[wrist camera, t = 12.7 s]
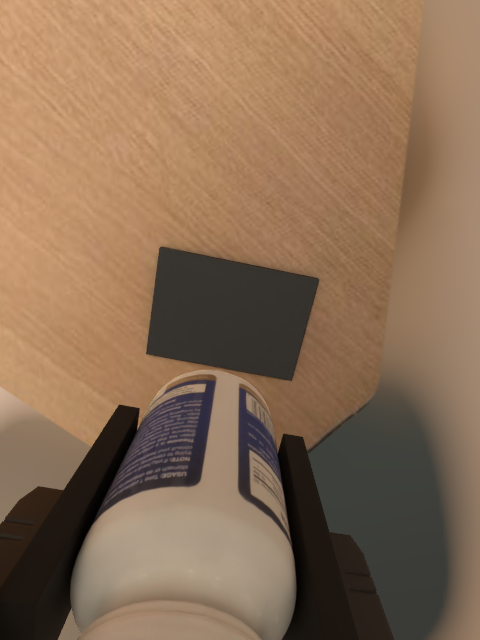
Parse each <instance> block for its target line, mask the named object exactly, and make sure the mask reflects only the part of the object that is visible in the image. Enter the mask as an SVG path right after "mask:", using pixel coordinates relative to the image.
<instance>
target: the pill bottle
mask: <svg viewBox="0 0 480 640" xmlns="http://www.w3.org/2000/svg"><path fill="white" fill-rule="evenodd" d="M296 592H297V585H296V572H295V559H294V554H293V550H292V542H291V537H290V530H289V524H288V517H287V510H286V504H285V497H284V491H283V485H282V479H281V472H280V466H279V459H278V453H277V447H276V440H275V433H274V427H273V422H272V418H271V414H270V411H269V408H268V406H267V404H266V402H265V400H264V399H263V397H262V396H261V394H260V393H259V392H258V391H257V390H256V389H255V388H254V387H253V386H252V385H251V384H250V383H248V382H247V381H246V380H244V379H242V378H240V377H238V376H235V375H233V374H230V373H226V372H223V371H217V370H196V371H192V372H189V373H185V374H182V375H179V376H178V377H176V378H174V379H172V380H171V381H169V382H168V383H167V384H166V385H164V386H163V387H162V388H161V389H160V391H159V392H158V393H157V394H156V395H155V397H154V399H153V400H152V402H151V404H150V405H149V407H148V409H147V411H146V413H145V415H144V417H143V419H142V421H141V423H140V426H139V428H138V430H137V432H136V434H135V436H134V438H133V440H132V442H131V444H130V446H129V448H128V450H127V452H126V454H125V457H124V459H123V461H122V463H121V465H120V467H119V469H118V471H117V473H116V475H115V477H114V479H113V481H112V483H111V485H110V487H109V489H108V491H107V494H106V496H105V498H104V500H103V501H102V504H101V506H100V508H99V510H98V512H97V514H96V516H95V519H94V521H93V523H92V525H91V527H90V529H89V531H88V533H87V535H86V537H85V539H84V541H83V544H82V546H81V549H80V551H79V553H78V555H77V558H76V561H75V565H74V568H73V572H72V577H71V585H70V601H71V607H72V611H73V615H74V618H75V621H76V624H77V626H78V628H79V630H80V632H81V635H80V637H79V638H78V639H77V640H282V638H283V636H284V635H285V633H286V631H287V629H288V627H289V625H290V622H291V619H292V616H293V613H294V609H295V603H296Z"/></svg>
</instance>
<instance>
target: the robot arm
mask: <svg viewBox="0 0 480 640" xmlns="http://www.w3.org/2000/svg"><path fill="white" fill-rule="evenodd" d="M139 410H140V408H135V407H130V406H124V405H119V406H118V407H117V409H116V410H115V412H114V413H113V415H112V416H111V418H110V420H109V421H108V423H107V424H106V426H105V427H104V429H103V430H102V432H101V433H100V435H99V437H98V438H97V440H96V441H95V443H94V444H93V446H92V447H91V449H90V450H89V452H88V453H87V455H86V457H85V458H84V460H83V461H82V463H81V464H80V466H79V467H78V469H77V471H76V472H75V474H74V475H73V477H72V478H71V480H70V481H69V483H68V484H67V486H66V488H65V489H64V490H57V489H51V488H45V487H39V486H38V487H37V488H35V489H34V490H33V491H31V492H30V493H28V494H27V495H26V496H24V497H23V498H21V499H20V500H19V501H18V502H17V504H16V505H15V506H14V507H13V509H12V510H11V511H10V513H9V514H8V515H7V516H6V518H5V520H4V522H2V523H1V524H0V640H58V637H59V635H60V633H61V630H62V628H63V626H64V624H65V621H66V619H67V616H68V614H69V612H70V610H71V601H70V585H71V577H72V572H73V568H74V565H75V561H76V558H77V555H78V553H79V551H80V549H81V546H82V544H83V541H84V539H85V537H86V535H87V533H88V531H89V529H90V527H91V525H92V523H93V521H94V519H95V516H96V514H97V512H98V510H99V508H100V506H101V504H102V501H103V500H104V498H105V496H106V494H107V491H108V489H109V487H110V485H111V483H112V481H113V479H114V477H115V475H116V473H117V471H118V469H119V467H120V465H121V463H122V461H123V459H124V457H125V454H126V452H127V450H128V448H129V446H130V444H131V442H132V440H133V438H134V436H135V434H136V432H137V426H138V418H139ZM278 459H279V466H280V472H281V479H282V485H283V491H284V497H285V504H286V510H287V517H288V524H289V530H290V537H291V542H292V550H293V554H294V559H295V572H296V585H297V592H296V603H295V609H294V613H293V616H292V619H291V622H290V625H289V627H288V629H287V631H286V633H285V635H284V636H283V638H282V640H394V638H393V635H392V633H391V630H390V627H389V624H388V621H387V619H386V616H385V613H384V610H383V607H382V604H381V602H380V599H379V596H378V595H377V594H376V588H375V585H374V582H373V580H372V577H370V571H369V568H368V566H367V563H366V560H365V557H364V554H363V553H362V551H361V550H360V548H359V547H358V546H357V544H356V543H355V542H354V540H353V539H352V537H351V536H349V535H343V534H337V533H331V532H329V530H328V526H327V523H326V519H325V515H324V512H323V508H322V504H321V501H320V497H319V494H318V490H317V486H316V483H315V479H314V475H313V472H312V468H311V465H310V461H309V458H308V454H307V450H306V446H305V443H304V439H303V437H299V436H294V435H288V434H283V437H282V441H281V444H280V448H279V451H278Z"/></svg>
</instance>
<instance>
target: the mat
mask: <svg viewBox="0 0 480 640" xmlns="http://www.w3.org/2000/svg"><path fill="white" fill-rule="evenodd" d="M318 283H319V279H318V278H314V277H309V276H304V275H299V274H294V273H289V272H285V271H280V270H275V269H270V268H265V267H260V266H255V265H250V264H245V263H240V262H235V261H230V260H225V259H220V258H215V257H210V256H205V255H200V254H195V253H190V252H185V251H180V250H175V249H170V248H165V247H160V248H159V256H158V264H157V272H156V280H155V288H154V296H153V304H152V312H151V320H150V328H149V336H148V344H147V352H146V354H149V355H154V356H160V357H165V358H171V359H176V360H182V361H187V362H193V363H198V364H203V365H209V366H214V367H220V368H225V369H231V370H236V371H241V372H247V373H252V374H258V375H263V376H269V377H274V378H279V379H285V380H290V381H292V378H293V374H294V371H295V367H296V363H297V360H298V356H299V352H300V349H301V345H302V341H303V338H304V334H305V330H306V327H307V323H308V319H309V316H310V312H311V308H312V305H313V301H314V297H315V294H316V290H317V286H318Z"/></svg>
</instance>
